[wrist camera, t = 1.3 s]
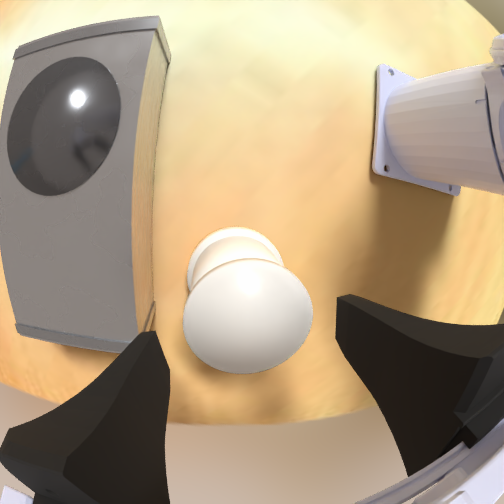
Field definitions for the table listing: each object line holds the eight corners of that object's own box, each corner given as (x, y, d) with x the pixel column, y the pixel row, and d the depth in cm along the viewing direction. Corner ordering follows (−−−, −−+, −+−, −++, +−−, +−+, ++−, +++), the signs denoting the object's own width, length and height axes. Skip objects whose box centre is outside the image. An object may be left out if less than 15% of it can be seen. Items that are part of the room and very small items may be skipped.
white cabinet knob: (285, 229, 16) (326, 263, 11) (273, 312, 18) (301, 372, 12) (189, 223, 15) (179, 257, 10) (188, 311, 17) (182, 374, 11)
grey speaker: (171, 52, 12) (160, 14, 8) (155, 312, 16) (143, 357, 12) (53, 66, 10) (16, 46, 6) (49, 301, 15) (18, 335, 11)
